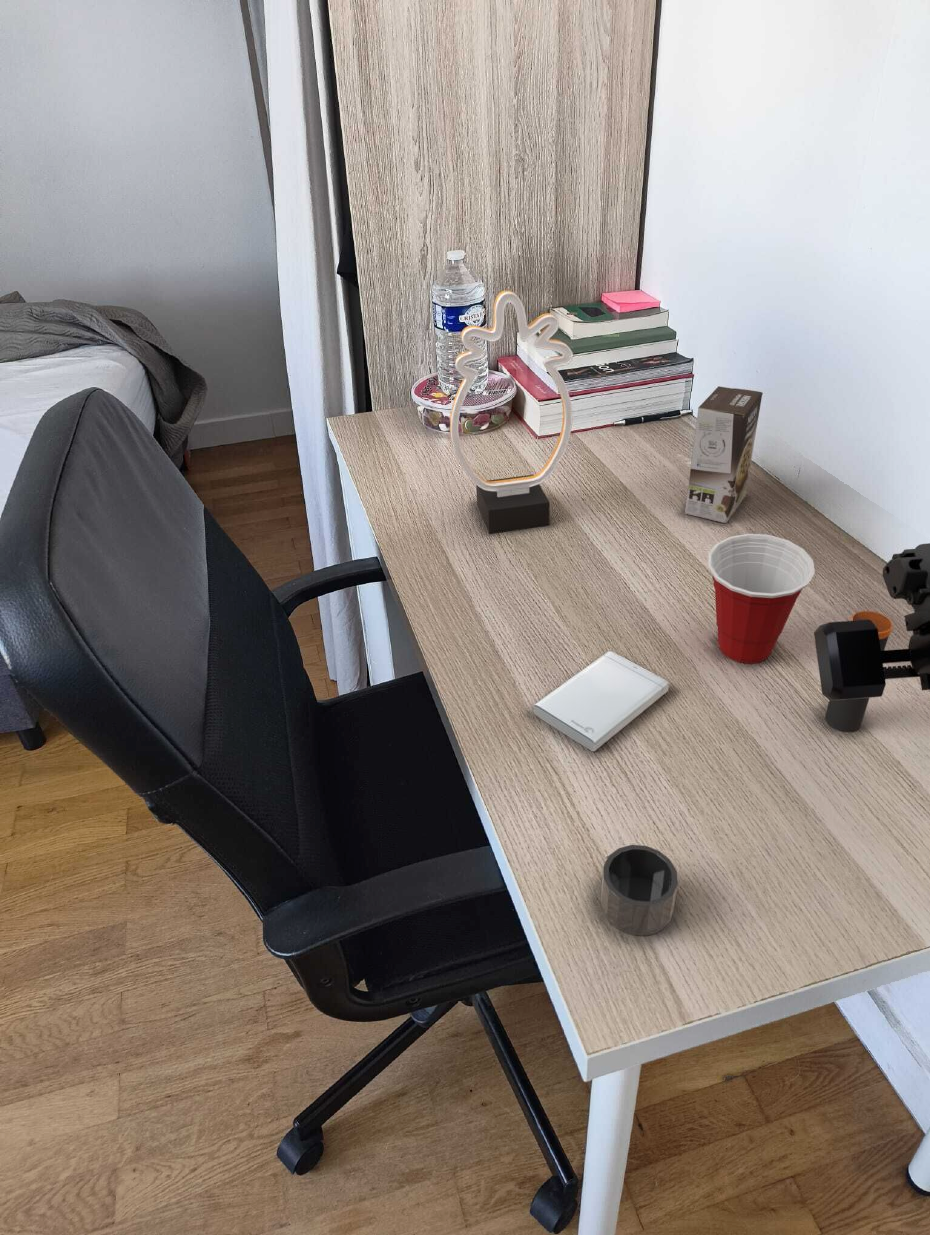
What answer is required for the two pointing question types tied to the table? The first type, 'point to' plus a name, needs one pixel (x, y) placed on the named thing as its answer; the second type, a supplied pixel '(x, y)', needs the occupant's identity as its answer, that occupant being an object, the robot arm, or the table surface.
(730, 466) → the coffee box
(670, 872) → the socket
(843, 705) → the orange-capped black cylinder
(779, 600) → the plastic cup
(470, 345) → the lamp
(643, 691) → the hard drive
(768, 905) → the table surface
